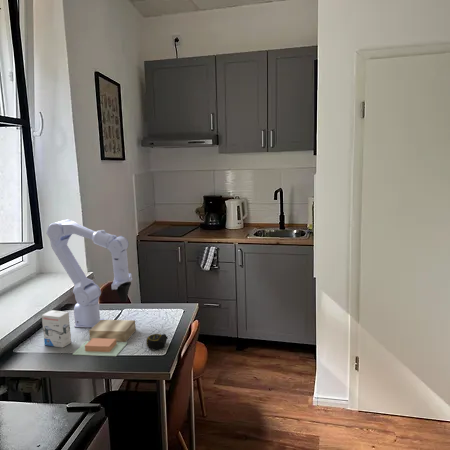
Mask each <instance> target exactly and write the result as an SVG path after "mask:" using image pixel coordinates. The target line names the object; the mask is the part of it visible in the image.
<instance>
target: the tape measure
mask: <svg viewBox="0 0 450 450" xmlns="http://www.w3.org/2000/svg"><path fill="white" fill-rule="evenodd" d="M168 337H169V336H167V334H165V333H162V334H160V333H154V334H151V335H149V336H147V338H146V346H147V348H148V349H150V350H161V349H164V348H165V345H166V343H167V340H168Z"/></svg>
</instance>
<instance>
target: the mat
mask: <svg viewBox="0 0 450 450" xmlns="http://www.w3.org/2000/svg"><path fill="white" fill-rule="evenodd" d="M89 341H90V340H86V341H84V342H83V343H82V345H80V346H79V347H78V349H76V350H75V351H74V352H73V353H72V356H93V357H94V356H95V357H96V356H97V357H98V356H99V357H117V356H118V355H119V353H121V351H122V350H123V349H124V348H125V347H126V345H127V344H128V342H127V341H126V342H117V341H116V343H117V344H116V345H115V346H114V347H113V349H112V350H111V351H110V352H98V351H85V345H86V344H87V343H88V342H89Z"/></svg>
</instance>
